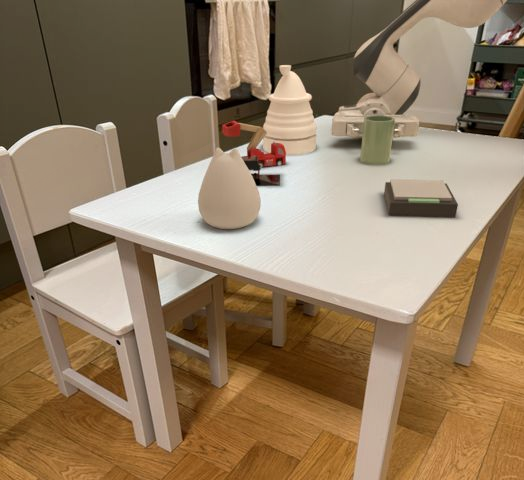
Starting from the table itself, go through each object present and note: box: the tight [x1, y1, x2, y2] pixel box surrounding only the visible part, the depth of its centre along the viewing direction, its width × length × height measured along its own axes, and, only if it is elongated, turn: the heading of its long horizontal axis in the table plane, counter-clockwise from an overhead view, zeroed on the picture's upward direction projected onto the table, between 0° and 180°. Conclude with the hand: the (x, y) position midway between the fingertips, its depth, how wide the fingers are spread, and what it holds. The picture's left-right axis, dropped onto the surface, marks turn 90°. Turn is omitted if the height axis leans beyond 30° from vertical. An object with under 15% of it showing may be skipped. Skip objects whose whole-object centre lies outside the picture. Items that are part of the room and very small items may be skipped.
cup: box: [359, 115, 395, 166], centre depth 109 cm, size 6×6×9 cm
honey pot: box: [262, 64, 317, 156], centre depth 117 cm, size 13×13×18 cm
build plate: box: [242, 157, 281, 187], centre depth 101 cm, size 12×7×5 cm, turn 89°
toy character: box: [197, 147, 262, 230], centre depth 81 cm, size 10×10×12 cm
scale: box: [383, 178, 459, 219], centre depth 88 cm, size 11×11×3 cm
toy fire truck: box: [221, 120, 287, 169], centre depth 107 cm, size 3×14×10 cm, turn 111°
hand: (376, 133), depth 113 cm, fingers open, 8 cm apart
